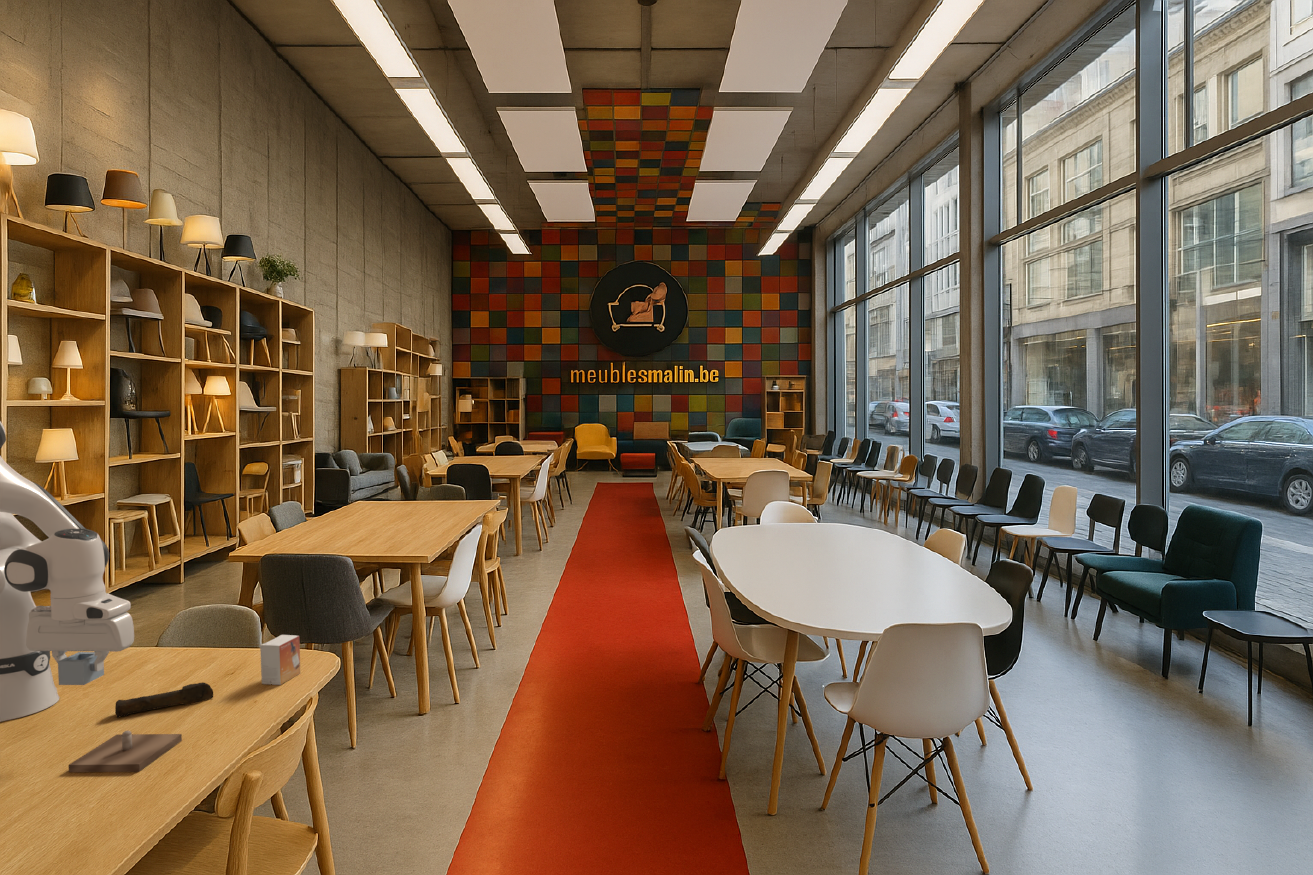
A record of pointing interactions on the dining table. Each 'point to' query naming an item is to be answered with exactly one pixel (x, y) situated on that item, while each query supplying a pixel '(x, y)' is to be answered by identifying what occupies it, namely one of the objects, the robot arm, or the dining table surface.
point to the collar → (78, 669)
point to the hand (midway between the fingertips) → (81, 670)
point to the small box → (280, 659)
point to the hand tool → (165, 699)
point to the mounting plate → (125, 753)
